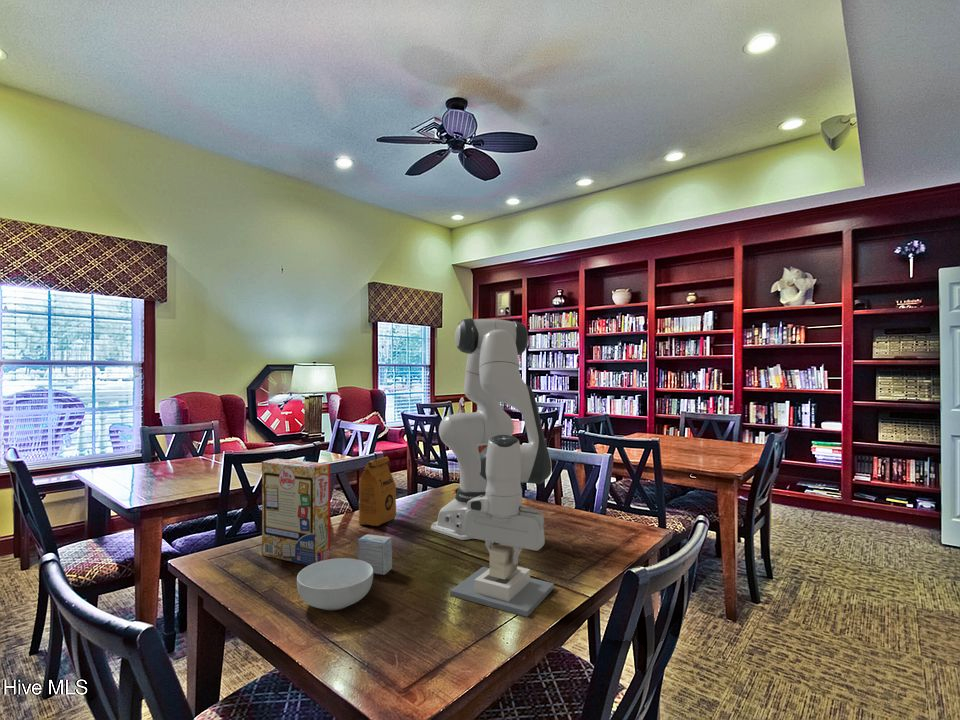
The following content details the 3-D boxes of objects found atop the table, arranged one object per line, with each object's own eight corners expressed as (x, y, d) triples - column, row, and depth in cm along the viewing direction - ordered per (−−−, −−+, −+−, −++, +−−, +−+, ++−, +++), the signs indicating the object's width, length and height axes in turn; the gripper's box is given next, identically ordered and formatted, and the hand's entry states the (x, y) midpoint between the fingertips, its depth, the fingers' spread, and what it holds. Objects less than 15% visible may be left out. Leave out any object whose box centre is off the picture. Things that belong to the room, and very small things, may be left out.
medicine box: (392, 569, 134) (392, 536, 134) (383, 576, 130) (384, 542, 130) (366, 565, 137) (366, 533, 137) (357, 571, 132) (357, 538, 132)
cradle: (450, 595, 119) (450, 577, 119) (482, 571, 133) (482, 555, 133) (527, 616, 109) (527, 597, 109) (553, 588, 123) (553, 571, 123)
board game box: (331, 560, 140) (331, 463, 140) (315, 568, 134) (315, 467, 134) (277, 548, 148) (277, 457, 149) (259, 556, 143) (260, 460, 143)
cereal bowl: (299, 627, 105) (299, 593, 105) (294, 593, 120) (294, 564, 120) (380, 611, 111) (380, 579, 111) (365, 581, 127) (365, 553, 127)
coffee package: (400, 519, 176) (401, 456, 176) (377, 529, 165) (377, 463, 165) (378, 515, 181) (379, 454, 181) (354, 525, 170) (354, 460, 170)
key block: (502, 565, 125) (502, 541, 125) (517, 568, 123) (517, 544, 123) (489, 575, 119) (489, 550, 119) (504, 579, 117) (504, 553, 117)
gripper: (548, 506, 119) (548, 565, 119) (474, 495, 129) (474, 549, 129) (538, 513, 113) (538, 575, 113) (461, 501, 123) (461, 557, 123)
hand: (503, 561), depth 121 cm, fingers closed on key block, 4 cm apart
